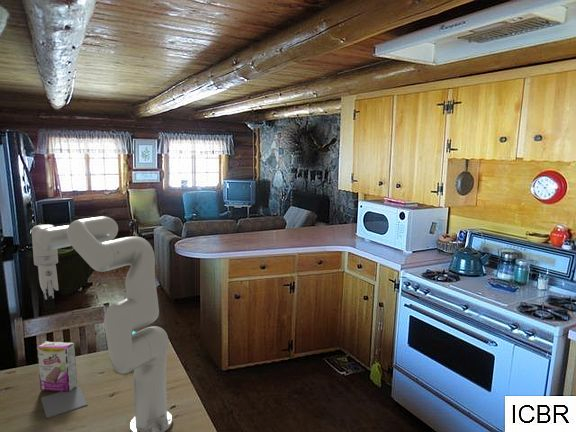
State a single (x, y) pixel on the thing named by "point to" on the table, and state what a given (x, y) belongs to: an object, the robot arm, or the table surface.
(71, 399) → the rubber mat
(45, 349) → the candy bar box
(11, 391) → the table surface
